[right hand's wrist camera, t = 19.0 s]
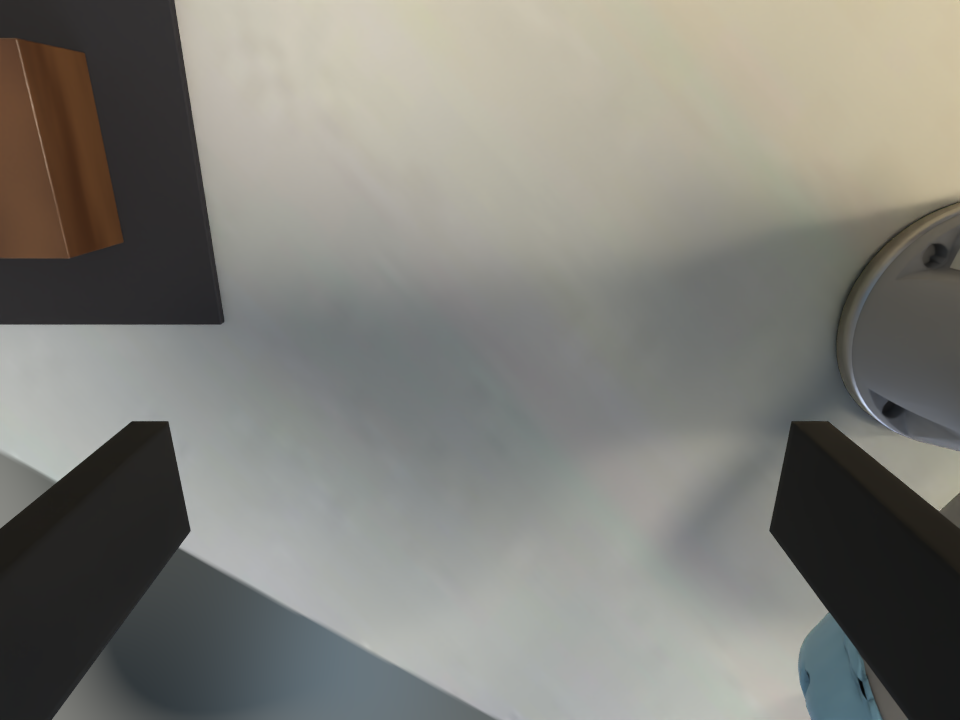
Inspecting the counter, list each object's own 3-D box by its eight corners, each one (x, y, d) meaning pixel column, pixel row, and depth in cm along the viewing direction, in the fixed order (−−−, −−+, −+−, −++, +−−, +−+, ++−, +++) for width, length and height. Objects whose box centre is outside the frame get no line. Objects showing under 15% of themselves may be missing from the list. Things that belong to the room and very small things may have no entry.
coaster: (165, -55, 30) (160, -59, 30) (224, 322, 37) (220, 324, 37) (-227, -55, 30) (-240, -59, 30) (-95, 321, 37) (-103, 324, 37)
